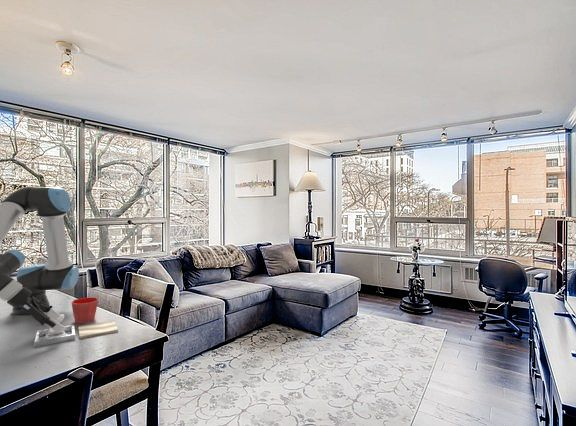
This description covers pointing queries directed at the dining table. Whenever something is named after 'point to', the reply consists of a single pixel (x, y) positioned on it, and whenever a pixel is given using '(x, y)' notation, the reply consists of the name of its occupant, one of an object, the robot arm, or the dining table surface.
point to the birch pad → (97, 329)
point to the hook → (52, 332)
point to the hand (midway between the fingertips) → (61, 325)
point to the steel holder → (54, 339)
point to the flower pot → (84, 309)
